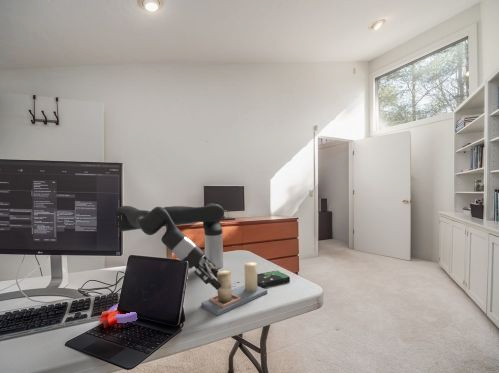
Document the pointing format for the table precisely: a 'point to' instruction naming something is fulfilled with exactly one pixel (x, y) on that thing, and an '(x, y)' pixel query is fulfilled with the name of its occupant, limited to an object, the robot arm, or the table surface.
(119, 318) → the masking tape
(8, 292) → the table surface
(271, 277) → the disk drive
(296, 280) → the table surface
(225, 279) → the maple column
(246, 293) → the base plate
